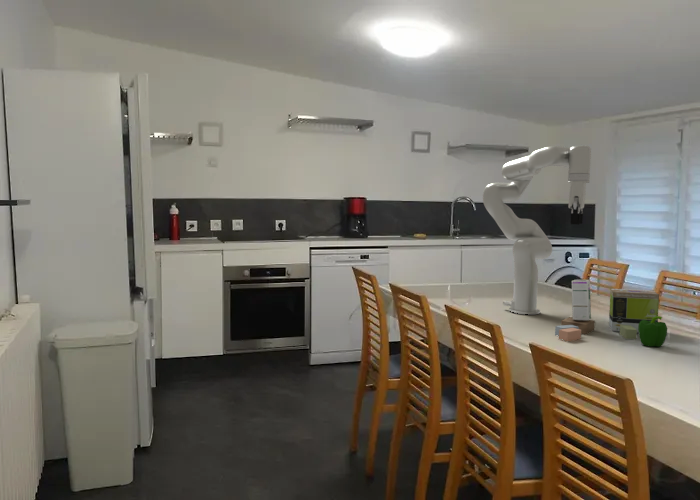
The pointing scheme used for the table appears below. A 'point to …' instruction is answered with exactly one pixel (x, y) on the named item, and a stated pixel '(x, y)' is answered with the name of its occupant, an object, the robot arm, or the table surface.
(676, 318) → the table surface
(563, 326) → the slate brick
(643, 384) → the table surface
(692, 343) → the table surface
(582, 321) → the walnut block
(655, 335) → the bell pepper
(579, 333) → the terracotta brick
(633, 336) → the olive brick
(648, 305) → the tea box
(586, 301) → the syrup box
